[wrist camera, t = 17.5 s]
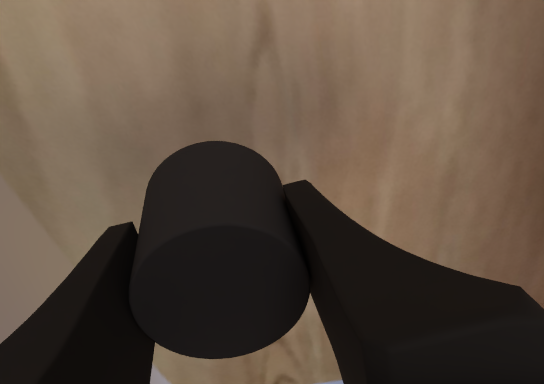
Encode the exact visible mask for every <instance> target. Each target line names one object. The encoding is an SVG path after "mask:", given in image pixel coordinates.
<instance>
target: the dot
mask: <svg viewBox="0 0 544 384" xmlns="http://www.w3.org/2000/svg"><path fill="white" fill-rule="evenodd" d="M310 284H311V283H310V274H309V271H308V268H307V264H306V261H305V258H304V255H303V251H302V248H301V245H300V242H299V240H298V237H297V234H296V232H295V229H294V226H293V223H292V220H291V217H290V213H289V210H288V207H287V204H286V200H285V195H284V190H283V187H282V184H281V180H280V178H279V176H278V174H277V172H276V171H275V169H274V168H273V166H272V165H271V164H270V163H269V162H268V161H267V160H266V159H265V158H264V157H262V156H261V155H260V154H258V153H257V152H255V151H254V150H252V149H249V148H247V147H245V146H242V145H239V144H236V143H231V142H225V141H207V142H201V143H196V144H193V145H190V146H187V147H185V148H182V149H180V150H178V151H177V152H175V153H173V154H172V155H170V156H169V157H168V158H166V159H165V160H164V161H163V162H162V163H161V164H160V165H159V166H158V167H157V169H156V170H155V172H154V173H153V175H152V177H151V179H150V181H149V183H148V186H147V189H146V195H145V200H144V206H143V211H142V217H141V223H140V228H139V234H138V239H137V245H136V250H135V256H134V262H133V267H132V273H131V278H130V284H129V291H128V293H129V304H130V309H131V311H132V314H133V316H134V319H135V320H136V322H137V324H138V325H139V327H140V328H141V329H142V330H143V332H144V333H145V334H146V335H147V336H148V337H149V338H151V339H152V340H153V341H154V342H156V343H157V344H159V345H160V346H162V347H164V348H166V349H168V350H170V351H173V352H176V353H178V354H182V355H185V356H189V357H195V358H204V359H223V358H232V357H237V356H242V355H246V354H249V353H252V352H255V351H257V350H260V349H262V348H264V347H266V346H268V345H270V344H272V343H274V342H275V341H277V340H278V339H280V338H281V337H282V336H284V335H285V334H286V333H287V332H288V331H289V330H290V329H291V328H292V327H293V326H294V325H295V324H296V323H297V321H298V320H299V319H300V317H301V315H302V314H303V312H304V310H305V308H306V305H307V303H308V299H309V294H310Z"/></svg>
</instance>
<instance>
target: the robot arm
mask: <svg viewBox="0 0 544 384" xmlns="http://www.w3.org/2000/svg"><path fill="white" fill-rule="evenodd" d="M282 186H283V190H284V195H285V200H286V204H287V207H288V210H289V213H290V217H291V220H292V223H293V226H294V229H295V232H296V234H297V237H298V240H299V242H300V245H301V248H302V251H303V255H304V258H305V261H306V264H307V268H308V271H309V274H310V283H311V284H310V293H311V296H312V298H313V301H314V303H315V306H316V308H317V311H318V313H319V316H320V318H321V321H322V323H323V326H324V328H325V331H326V333H327V335H328V338H329V340H330V343H331V345H332V348H333V351H334V354H335V357H336V360H337V363H338V366H339V369H340V373H341V376H342V380H343V383H344V384H544V309H543V308H542V307H541V306H540V305H539V304H538V303H537V302H536V301H535V300H534V299H533V298H531V297H530V296H529V295H528V294H527V293H526V292H525V291H524V290H523V289H522V288H521V287H519V286H515V285H510V284H506V283H502V282H498V281H493V280H489V279H485V278H481V277H476V276H473V275H469V274H466V273H463V272H460V271H456V270H453V269H450V268H447V267H444V266H441V265H438V264H436V263H433V262H430V261H428V260H425V259H423V258H421V257H418V256H416V255H413V254H411V253H409V252H406V251H404V250H402V249H400V248H398V247H396V246H394V245H392V244H390V243H388V242H386V241H385V240H383V239H381V238H379V237H378V236H376V235H374V234H373V233H371V232H370V231H368V230H367V229H365V228H364V227H362V226H361V225H359V224H358V223H356V222H355V221H354V220H352V219H351V218H349V217H348V216H347V215H346V214H344V213H343V212H342V211H340V210H339V209H338V208H337V207H335V206H334V205H333V204H332V203H331V202H330V201H328V200H327V199H326V198H325V197H324V196H323V195H322V194H321V193H320V192H319V191H318V190H317V189H316V188H315V187H314V186H313V185H312V184H311V183H310V182H308V181H307V180H301V181H297V182H293V183H289V184H285V185H282ZM137 239H138V233H137V231H136V229H135V227H134V224H133V222H128V223H124V224H119V225H115V226H111V227H109V228H108V229H107V230H106V231H105V232H104V233H103V234H102V235H101V237H100V238H99V239H98V240H97V241H96V243H95V244H94V245H93V246H92V247H91V249H90V250H89V251H88V252H87V254H86V255H85V256H84V257H83V258H82V260H81V261H80V262H79V263H78V264H77V266H76V267H75V268H74V269H73V270H72V272H71V273H70V274H69V275H68V276H67V278H66V279H65V280H64V281H63V282H62V283H61V284H60V285H59V286H58V287H57V289H56V290H55V291H54V292H53V293H52V294H51V295H50V296H49V297H48V298H47V300H46V301H45V302H44V303H43V304H42V305H41V306H40V307H39V308H38V309H37V310H36V311H35V312H34V313H33V314H32V315H31V316H30V317H29V318H28V319H27V320H26V321H25V322H24V323H23V324H22V325H21V326H20V327H19V328H18V329H16V330H15V331H14V332H13V333H12V334H11V335H10V336H9V337H8V338H7V339H5V340H4V341H3V342H2V343H1V344H0V384H150V376H151V369H152V361H153V354H154V346H155V342H154V341H153V340H152V339H151V338H149V337H148V336H147V335H146V334H145V333H144V332H143V330H142V329H141V328H140V327H139V325H138V324H137V322H136V320H135V319H134V316H133V314H132V311H131V309H130V304H129V293H128V291H129V284H130V278H131V273H132V267H133V262H134V256H135V250H136V245H137Z"/></svg>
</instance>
